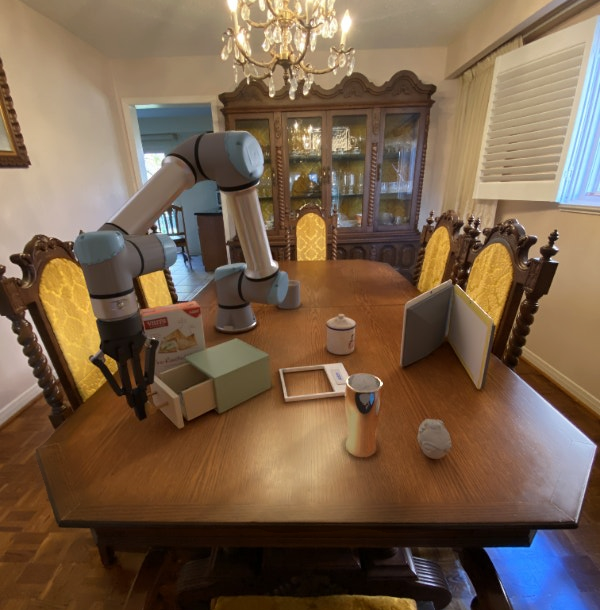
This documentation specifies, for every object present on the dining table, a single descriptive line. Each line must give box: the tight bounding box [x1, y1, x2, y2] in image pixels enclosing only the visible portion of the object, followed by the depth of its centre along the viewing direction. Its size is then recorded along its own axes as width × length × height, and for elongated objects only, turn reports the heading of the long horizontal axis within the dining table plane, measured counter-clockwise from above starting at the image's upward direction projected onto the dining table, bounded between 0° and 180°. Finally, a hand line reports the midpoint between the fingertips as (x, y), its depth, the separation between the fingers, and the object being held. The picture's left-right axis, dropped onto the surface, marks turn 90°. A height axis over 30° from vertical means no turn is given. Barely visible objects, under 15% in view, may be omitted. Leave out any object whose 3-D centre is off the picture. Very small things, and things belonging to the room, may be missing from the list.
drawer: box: [144, 362, 217, 430], centre depth 81 cm, size 19×13×8 cm
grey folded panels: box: [399, 279, 497, 390], centre depth 100 cm, size 35×22×20 cm, turn 174°
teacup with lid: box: [325, 313, 357, 356], centre depth 109 cm, size 12×9×12 cm
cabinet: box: [184, 337, 272, 414], centre depth 88 cm, size 16×15×10 cm
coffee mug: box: [277, 279, 301, 310], centre depth 149 cm, size 13×10×10 cm
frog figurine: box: [416, 418, 452, 460], centre depth 66 cm, size 6×7×7 cm
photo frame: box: [278, 362, 350, 403], centre depth 92 cm, size 15×1×18 cm
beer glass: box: [344, 372, 383, 458], centre depth 66 cm, size 7×7×15 cm
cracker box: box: [140, 300, 207, 380], centre depth 92 cm, size 14×6×21 cm, turn 117°
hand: (141, 416), depth 75 cm, fingers closed
